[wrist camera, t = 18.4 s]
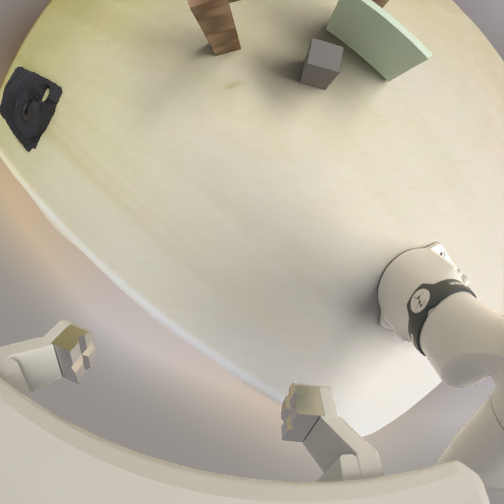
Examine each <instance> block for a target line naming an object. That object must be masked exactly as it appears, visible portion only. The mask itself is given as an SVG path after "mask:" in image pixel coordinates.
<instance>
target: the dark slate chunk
mask: <svg viewBox="0 0 504 504" xmlns="http://www.w3.org/2000/svg"><path fill="white" fill-rule="evenodd" d="M49 87H50V93H49V95H48V97H47V99H46V100H45V102H44V101H43V102H42V99H43V96H44V93H45V91H46V89H47V88H49ZM61 94H62V89H61V87H59V86H57V84H56V83H53V82H51V81H50V80H48V79H46V78H44V77H42V76H40V75H39V74H36V73H35V72H31V71H28V70H25V69H24V68H23V67H17V68H16V69H15V71H14V73H13V74H12V76H11V78H10V80H9V81H8V83H7V84H6V86H5V89H4V93H3V99H2V102H1V105H0V113H1V115H2V117H3V118H4V119H5V120H6V122H7V124H8V125H9V127H10V129H11V130H12V131H13V134H15V135H16V137H17V138H18V139H19V141H20V142H21V143H22V144H23V145H24V147H25V148H26V150H28V151H30V150H31V148H34V149H36V146H37V143H38V141H39V139H40V137H41V135H42V133H43V132H44V131H45V130H46V128H47V126H48V125H49V122H50V120H51V118H52V116H53V114H54V112H55V108H56V105H57V103H58V101H59V98H60V96H61Z"/></svg>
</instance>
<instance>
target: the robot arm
mask: <svg viewBox="0 0 504 504" xmlns="http://www.w3.org/2000/svg"><path fill="white" fill-rule="evenodd" d="M440 252H441V254H440ZM439 254H440V255H439ZM462 274H463V273H462V271H461V270H460V269H457V268H456V266H455V264H454V263H453V261H452V259H451V258H450V256H449V255H448V253H447V252H446V250H445V249H444V247H443V246H442V245H441V244H440V243H438V242H436V243H433V244H431V245H430V246H428V247H426V248H418V249H412V250H409V251H406V252H404V253H402V254H401V255H399V256H398V257H397V258H396V259H394V260H393V261H392V262H391V264H390V265H389V266H388V267H387V269H386V270H385V272H384V274H383V276H382V278H381V281H380V284H379V288H378V301H379V305H380V308H381V315H380V325H381V326H382V327H383V328H385V329H389V330H393V331H395V332H396V334H397V335H398V336H399V337H400V339H401V340H402V341H405V340H406V341H408V342H413V344H414V346H415V347H416V349H417V350H418V351H420V353H421V354H423V355H424V356H426V357H427V358H428V360H429V361H430V363H431V364H432V366H433V367H434V369H435V370H436V372H437V373H438V375H439V377H440V378H441V380H442V381H443V382H444V383H446V384H447V385H449V386H451V387H454V388H465V387H468V386H472V385H474V384H476V383H478V382H480V381H482V380H483V379H485V378H487V377H488V376H491V377H492V379H493V380H494V383H495V387H494V389H493V390H492V393H491V394H490V395H489V396H488V398H487V399H486V400H485V402H484V403H483V404H482V405H481V406H480V408H479V409H478V410H477V411H476V413H475V414H474V415H473V416H472V417H471V418H470V419H469V420H468V422H467V423H466V424H465V425H464V426H463V427H462V428H461V429H460V430H459V431H458V433H457V434H456V436H455V437H454V438H453V440H452V441H451V443H450V444H449V446H448V447H447V448H446V450H445V451H444V452H443V454H442V455H441V456H440V458H439V460H438V462H437V465H434V466H431V467H427V468H423V469H419V470H414V471H410V472H405V473H400V474H394V475H388V476H384V473H383V470H382V466H381V462H380V459H379V455H378V452H377V451H376V450H375V449H374V448H373V447H372V446H371V445H370V444H369V443H367V442H366V441H365V440H364V439H363V438H362V437H361V436H360V435H359V434H358V433H357V432H356V431H355V430H354V429H353V428H351V427H350V426H349V425H348V424H347V423H346V422H345V421H344V420H343V419H342V418H341V417H337V413H336V409H335V404H334V400H333V396H332V391H331V388H330V387H325V386H313V385H303V384H295V383H293V384H292V385H291V386H290V389H289V395H288V396H287V397H285V400H284V402H283V406H282V412H281V416H282V417H281V418H282V420H283V421H284V424H283V425H282V440H286V441H296V442H303V444H304V446H305V447H306V448H307V450H308V451H309V453H310V454H311V455H312V457H313V458H314V460H315V461H316V462H317V464H318V465H319V467H320V468H321V469H322V471H323V472H324V474H323V475H322V476H321V477H320V478H319V479H318V480H317V481H316V482H292V481H273V480H261V479H252V478H244V477H236V476H230V475H223V474H218V473H213V472H207V471H202V470H198V469H194V468H190V467H185V466H181V465H178V464H174V463H170V462H166V461H163V460H160V459H157V458H154V457H150V456H147V455H144V454H141V453H139V452H136V451H133V450H130V449H128V448H125V447H122V446H120V445H117V444H115V443H112V442H110V441H108V440H105V439H103V438H101V437H99V436H96V435H94V434H92V433H90V432H88V431H86V430H83V429H82V428H80V427H77V426H76V425H74V424H72V423H70V422H68V421H66V420H64V419H63V418H61V417H59V416H57V415H55V414H54V413H52V412H50V411H49V410H47V409H45V408H44V407H42V406H41V405H39V404H37V403H36V402H35V400H34V398H33V396H32V394H31V392H33V391H35V390H37V389H40V388H41V387H44V386H46V385H48V384H50V383H52V382H54V381H56V380H58V379H60V378H62V377H65V378H67V379H69V380H71V381H73V382H75V383H78V384H79V382H80V381H81V380H82V378H83V377H84V376H85V369H88V368H91V366H92V365H93V363H94V361H95V358H96V348H95V346H94V345H93V343H92V341H93V340H94V335H93V333H92V332H91V331H89V330H87V329H84V328H82V327H80V326H78V325H76V324H73V323H71V322H69V321H66V320H61V321H60V322H59V323H58V324H57V325H56V326H55V327H53V328H52V329H51V330H50V331H49V332H48V333H47V334H46V335H45V336H44V337H43V338H40V337H38V338H34V339H30V340H26V341H22V342H18V343H14V344H10V345H6V346H2V347H0V504H490V503H489V499H488V498H489V497H494V496H500V495H504V317H503V316H501V315H499V314H497V313H496V312H494V311H493V310H491V309H490V308H488V307H487V306H486V305H484V304H483V303H482V302H480V301H479V300H478V299H477V298H476V296H475V294H474V293H473V292H472V290H471V289H470V288H469V287H468V285H469V284H470V281H469V279H468V278H467V277H466V276H465V275H462Z"/></svg>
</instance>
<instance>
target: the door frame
mask: <svg viewBox="0 0 504 504" xmlns="http://www.w3.org/2000/svg"><path fill="white" fill-rule="evenodd" d="M235 1H239V0H188V4H189V7H190V9H191V11H192V13H193V14H194V16H195V18H196V20H197V21H198V23H199V25H200V27H201V29H202V31H203V32H204V34H205V36H206V38H207V40H208V42H209V43H210V45H211V47H212V49H213V51H214V53H215V55H216V56H217V55H221V54H224V53H228V52H231V51H235V50H238V49H241V47H240V43H239V39H238V35H237V31H236V28H235V24H234V20H233V17H232V13H231V9H230V6H229V3H231V2H235ZM372 1H373V2H375V3H376V4H377V5H379V6H380V7H381V8H383V7H384V5H385V4H386V3H387V2H388V1H389V0H372Z"/></svg>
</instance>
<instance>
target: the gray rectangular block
mask: <svg viewBox="0 0 504 504" xmlns="http://www.w3.org/2000/svg"><path fill="white" fill-rule="evenodd" d="M343 49H344V47H342V46H338V45H335V44H332V43H328V42H325V41H321V40H318V39H314V38H313V39H312V41H311V44H310V47H309V49H308V52H307V55H306V58H305V60H304V64H303V69H302V74H301V78H300V83H302V84H306V85H310V86H314V87H317V88H321V89H324V90H325V89H326V88H327V87H328V86H329V84H330V83H331V82H332V81H333V79H334V78H335V77H336V76H337V75H338V73H339V71H340V66H341V60H342V54H343Z"/></svg>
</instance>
